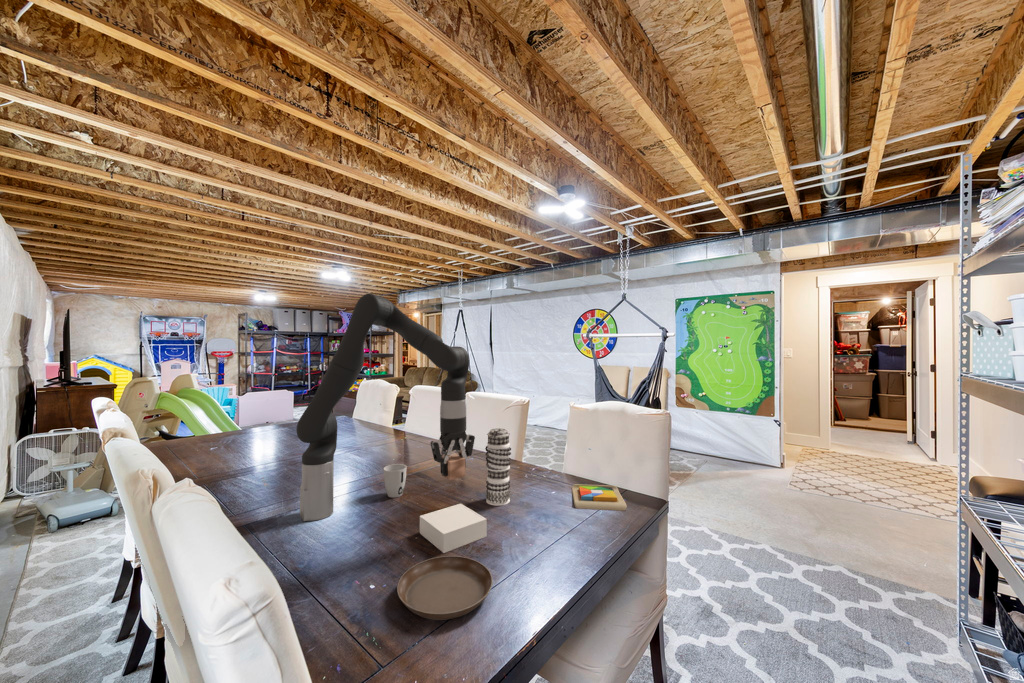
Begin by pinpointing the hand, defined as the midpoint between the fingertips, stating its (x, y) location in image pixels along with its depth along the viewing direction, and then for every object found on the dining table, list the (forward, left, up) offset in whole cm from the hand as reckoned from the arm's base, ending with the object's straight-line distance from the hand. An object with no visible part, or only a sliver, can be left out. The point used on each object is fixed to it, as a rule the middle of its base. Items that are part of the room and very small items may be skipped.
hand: (453, 473), depth 112 cm
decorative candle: (+25, +11, -18) cm, 33 cm away
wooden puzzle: (+54, -10, -18) cm, 58 cm away
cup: (-1, +39, -18) cm, 43 cm away
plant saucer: (-15, -22, -18) cm, 32 cm away
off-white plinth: (0, 0, -18) cm, 18 cm away
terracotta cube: (0, 0, -1) cm, 1 cm away
